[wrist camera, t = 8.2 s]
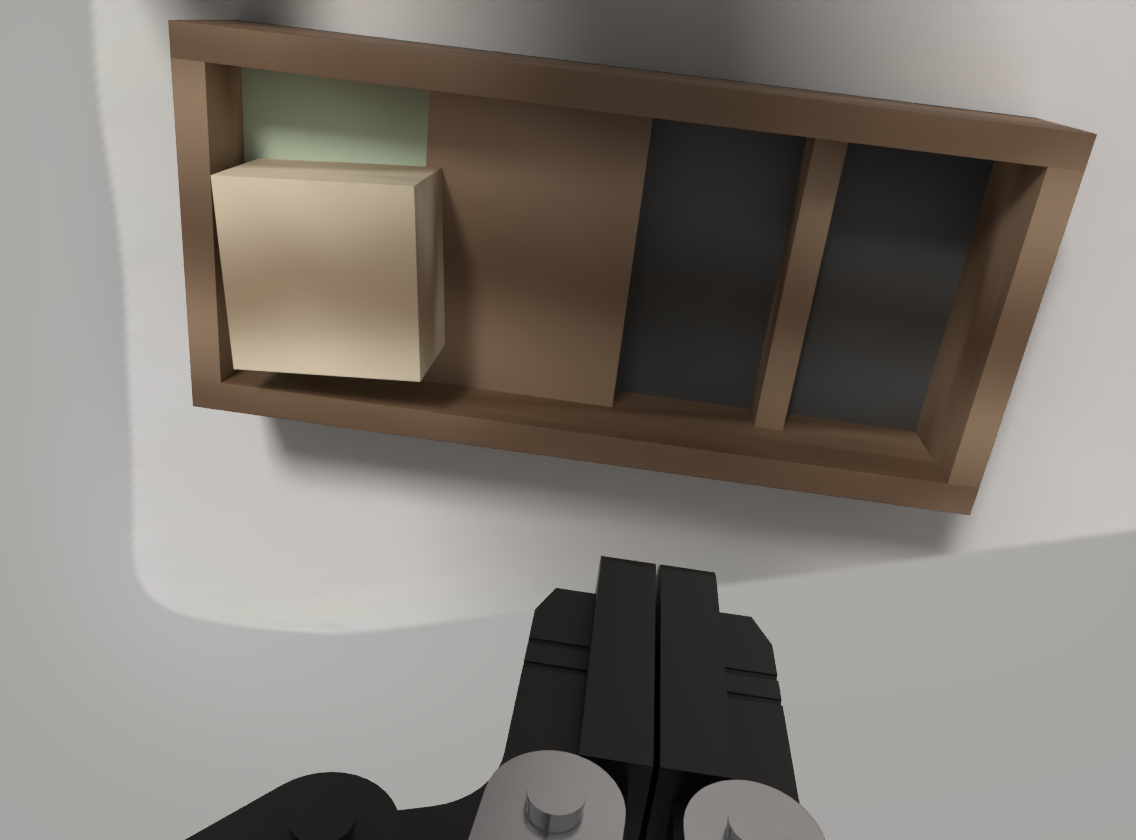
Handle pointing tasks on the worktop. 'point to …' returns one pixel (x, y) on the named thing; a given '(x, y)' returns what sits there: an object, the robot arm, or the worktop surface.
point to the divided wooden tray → (655, 258)
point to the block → (332, 267)
